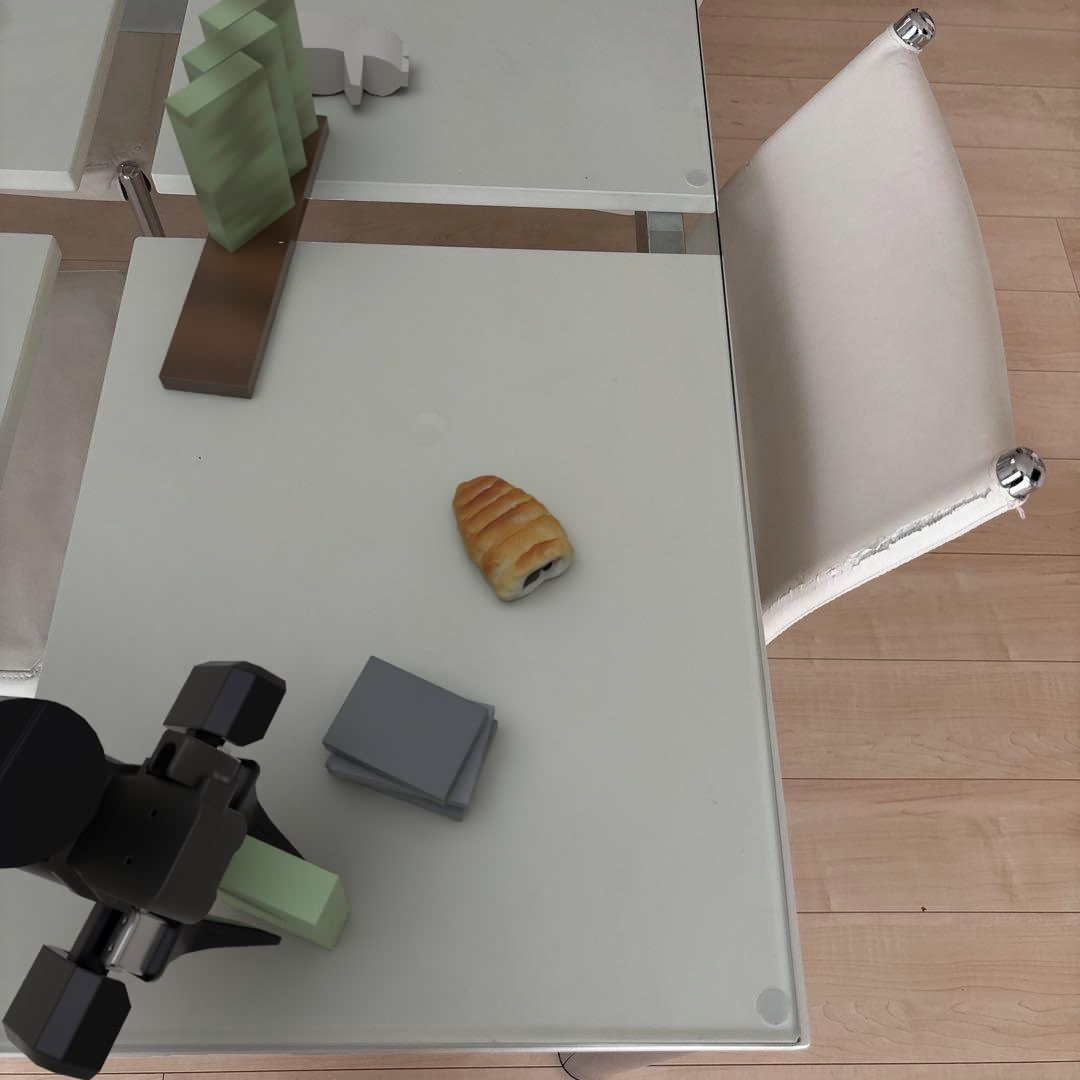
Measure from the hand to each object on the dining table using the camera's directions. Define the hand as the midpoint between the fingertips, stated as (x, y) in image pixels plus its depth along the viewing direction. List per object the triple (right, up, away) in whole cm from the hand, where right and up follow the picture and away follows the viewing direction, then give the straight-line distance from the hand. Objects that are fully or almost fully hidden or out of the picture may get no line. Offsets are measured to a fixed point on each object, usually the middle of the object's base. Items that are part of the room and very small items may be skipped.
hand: (292, 904), depth 50 cm
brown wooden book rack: (-10, +43, +28) cm, 53 cm away
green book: (-2, -3, +6) cm, 7 cm away
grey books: (+5, +6, +11) cm, 13 cm away
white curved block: (-6, +61, +38) cm, 72 cm away
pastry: (+11, +18, +18) cm, 28 cm away
